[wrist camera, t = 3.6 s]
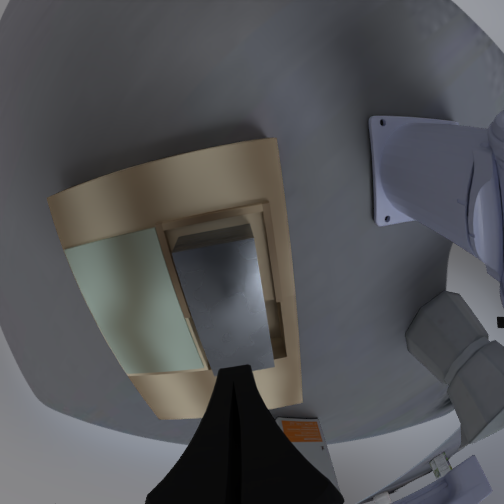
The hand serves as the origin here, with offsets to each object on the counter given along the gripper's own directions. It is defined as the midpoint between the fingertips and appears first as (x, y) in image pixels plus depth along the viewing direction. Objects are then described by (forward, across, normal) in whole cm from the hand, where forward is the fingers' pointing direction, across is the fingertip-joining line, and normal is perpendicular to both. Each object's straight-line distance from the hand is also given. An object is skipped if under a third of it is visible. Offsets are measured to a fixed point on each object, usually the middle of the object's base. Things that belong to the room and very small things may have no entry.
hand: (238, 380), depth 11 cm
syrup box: (+10, -59, +102) cm, 118 cm away
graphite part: (+6, 0, 0) cm, 6 cm away
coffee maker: (+10, -21, +10) cm, 25 cm away
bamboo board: (+9, +3, +2) cm, 10 cm away
